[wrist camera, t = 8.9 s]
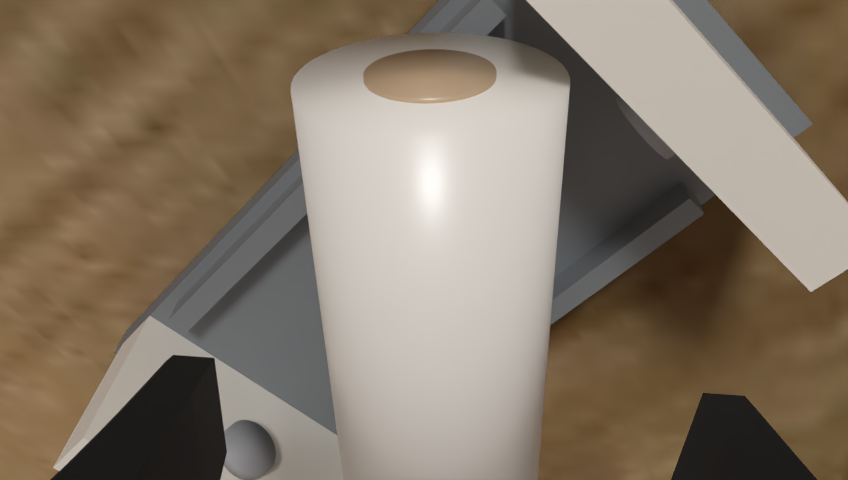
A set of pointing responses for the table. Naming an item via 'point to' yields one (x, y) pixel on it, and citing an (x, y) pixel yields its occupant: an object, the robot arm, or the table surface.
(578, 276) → the holder
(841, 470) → the table surface
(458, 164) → the cylinder
